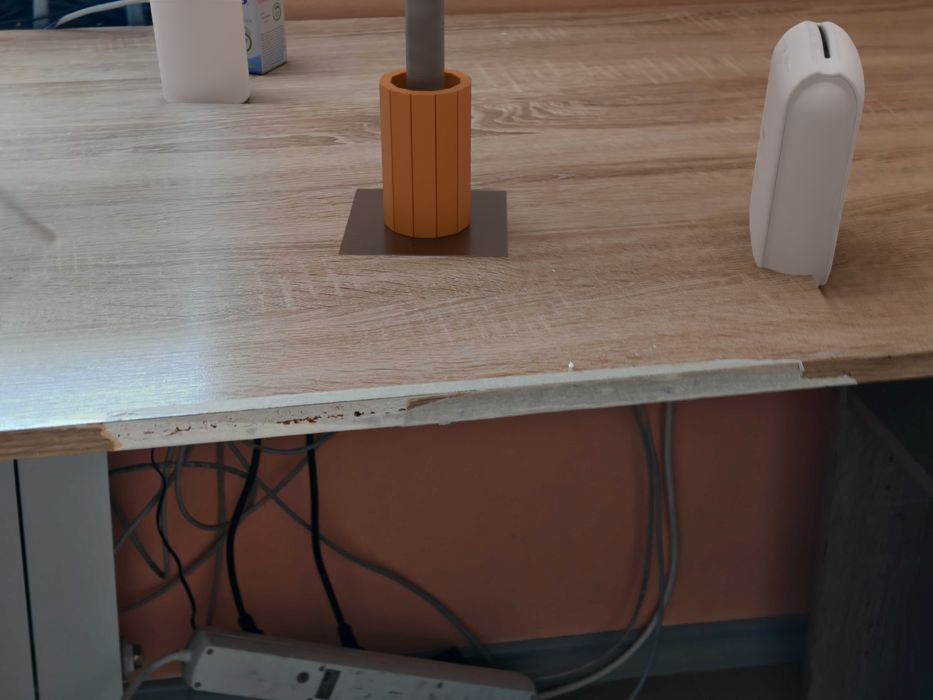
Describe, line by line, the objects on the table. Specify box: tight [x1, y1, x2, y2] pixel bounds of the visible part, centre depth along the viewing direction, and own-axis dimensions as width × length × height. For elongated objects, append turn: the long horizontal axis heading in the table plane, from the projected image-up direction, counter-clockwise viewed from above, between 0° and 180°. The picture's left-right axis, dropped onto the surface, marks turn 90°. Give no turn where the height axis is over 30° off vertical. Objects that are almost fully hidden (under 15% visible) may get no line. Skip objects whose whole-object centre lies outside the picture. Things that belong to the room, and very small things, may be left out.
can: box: [149, 0, 251, 105], centre depth 79 cm, size 6×6×12 cm
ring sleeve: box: [378, 67, 472, 238], centre depth 59 cm, size 5×5×8 cm
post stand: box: [338, 0, 509, 258], centre depth 57 cm, size 9×9×17 cm
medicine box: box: [242, 0, 288, 75], centre depth 89 cm, size 8×4×9 cm, turn 70°
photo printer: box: [748, 20, 866, 287], centre depth 57 cm, size 10×4×12 cm, turn 169°
